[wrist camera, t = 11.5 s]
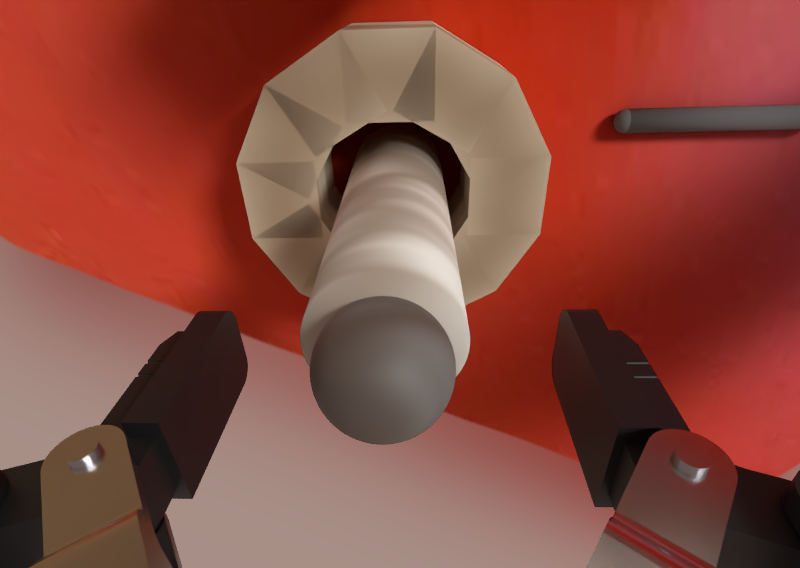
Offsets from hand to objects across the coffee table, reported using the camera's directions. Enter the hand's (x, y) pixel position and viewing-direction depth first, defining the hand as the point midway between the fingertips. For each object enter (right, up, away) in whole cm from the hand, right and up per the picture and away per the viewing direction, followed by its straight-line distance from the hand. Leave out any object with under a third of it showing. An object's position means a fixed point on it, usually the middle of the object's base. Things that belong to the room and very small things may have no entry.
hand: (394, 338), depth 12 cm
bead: (0, +7, +10) cm, 12 cm away
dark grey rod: (+14, +9, +9) cm, 19 cm away
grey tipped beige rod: (0, +7, +10) cm, 12 cm away
